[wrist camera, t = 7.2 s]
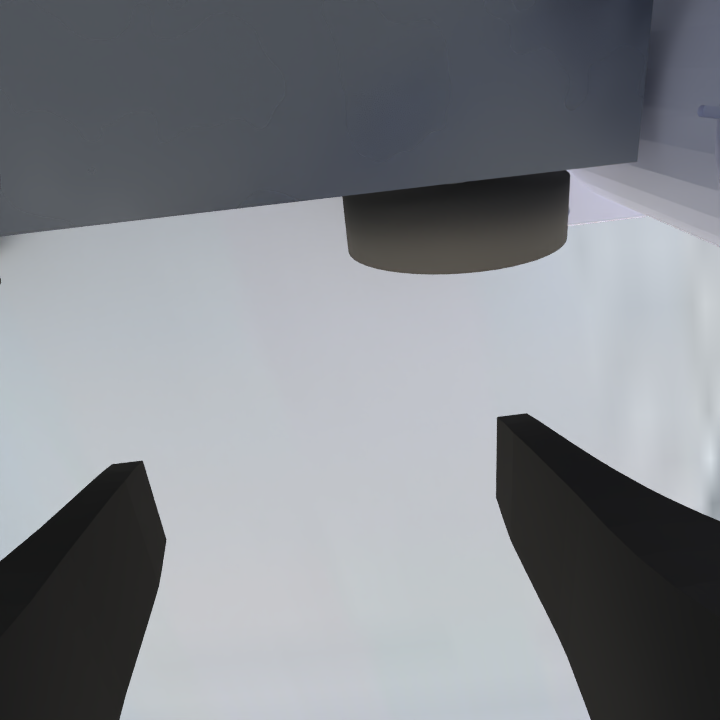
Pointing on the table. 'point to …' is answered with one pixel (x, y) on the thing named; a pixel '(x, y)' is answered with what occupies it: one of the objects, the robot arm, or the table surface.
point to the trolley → (322, 116)
